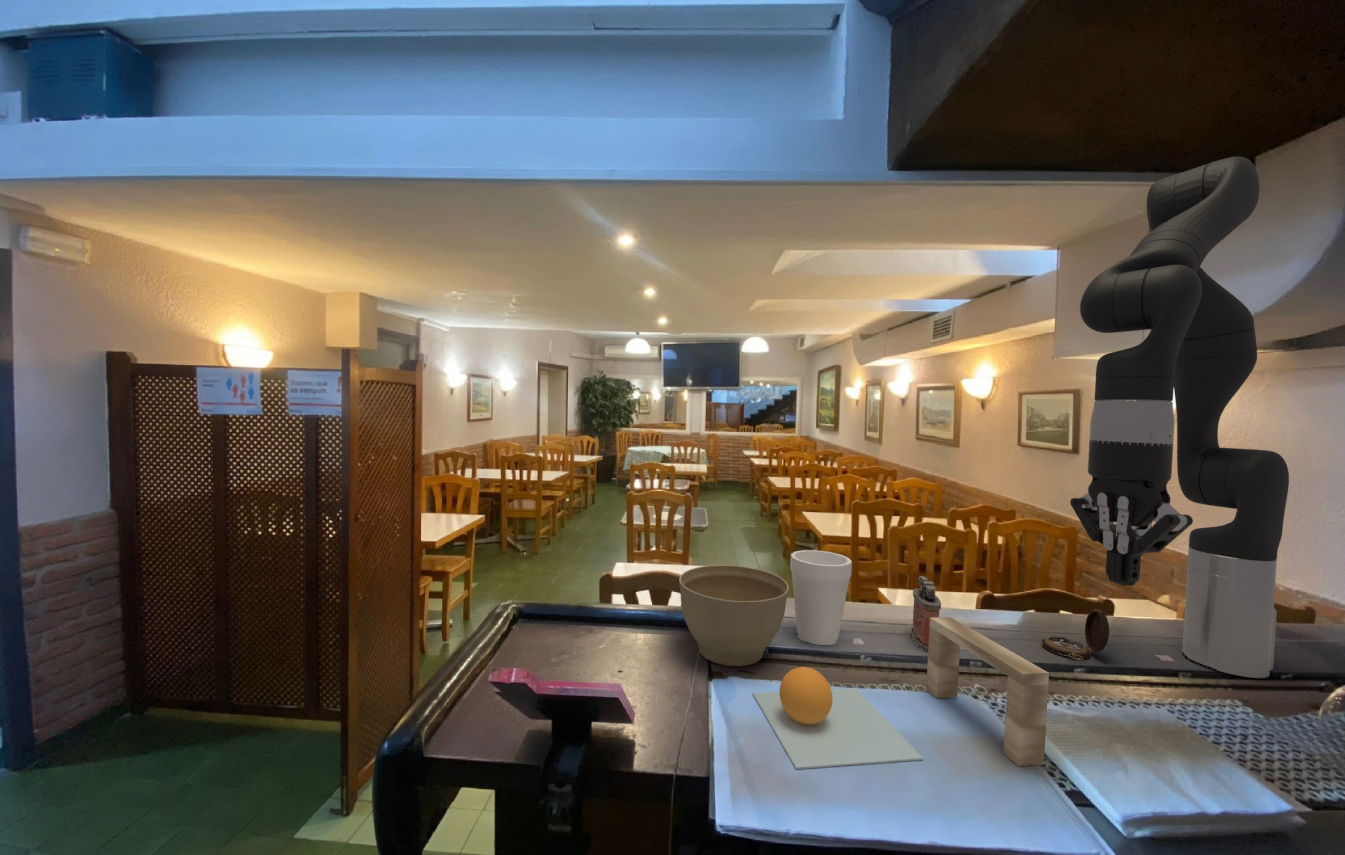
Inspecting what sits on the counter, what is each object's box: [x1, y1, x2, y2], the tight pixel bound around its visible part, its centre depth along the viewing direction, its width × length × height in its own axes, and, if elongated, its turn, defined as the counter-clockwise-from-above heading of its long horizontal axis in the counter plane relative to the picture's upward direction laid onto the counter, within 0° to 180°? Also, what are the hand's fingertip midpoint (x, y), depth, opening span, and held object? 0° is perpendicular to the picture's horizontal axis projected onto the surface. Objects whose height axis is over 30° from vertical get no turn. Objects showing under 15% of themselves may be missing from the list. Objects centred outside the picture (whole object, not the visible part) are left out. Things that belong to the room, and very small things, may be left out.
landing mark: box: [752, 687, 924, 770], centre depth 60 cm, size 14×14×1 cm
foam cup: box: [789, 549, 853, 645], centre depth 84 cm, size 10×9×13 cm
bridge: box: [925, 616, 1050, 767], centre depth 62 cm, size 3×15×10 cm, turn 9°
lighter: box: [910, 575, 942, 652], centre depth 84 cm, size 8×3×10 cm, turn 168°
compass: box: [1041, 609, 1110, 661], centre depth 82 cm, size 8×8×7 cm
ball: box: [779, 666, 833, 725], centre depth 61 cm, size 6×6×6 cm
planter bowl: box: [678, 564, 790, 667], centre depth 78 cm, size 16×16×11 cm
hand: (1121, 583), depth 63 cm, fingers closed
